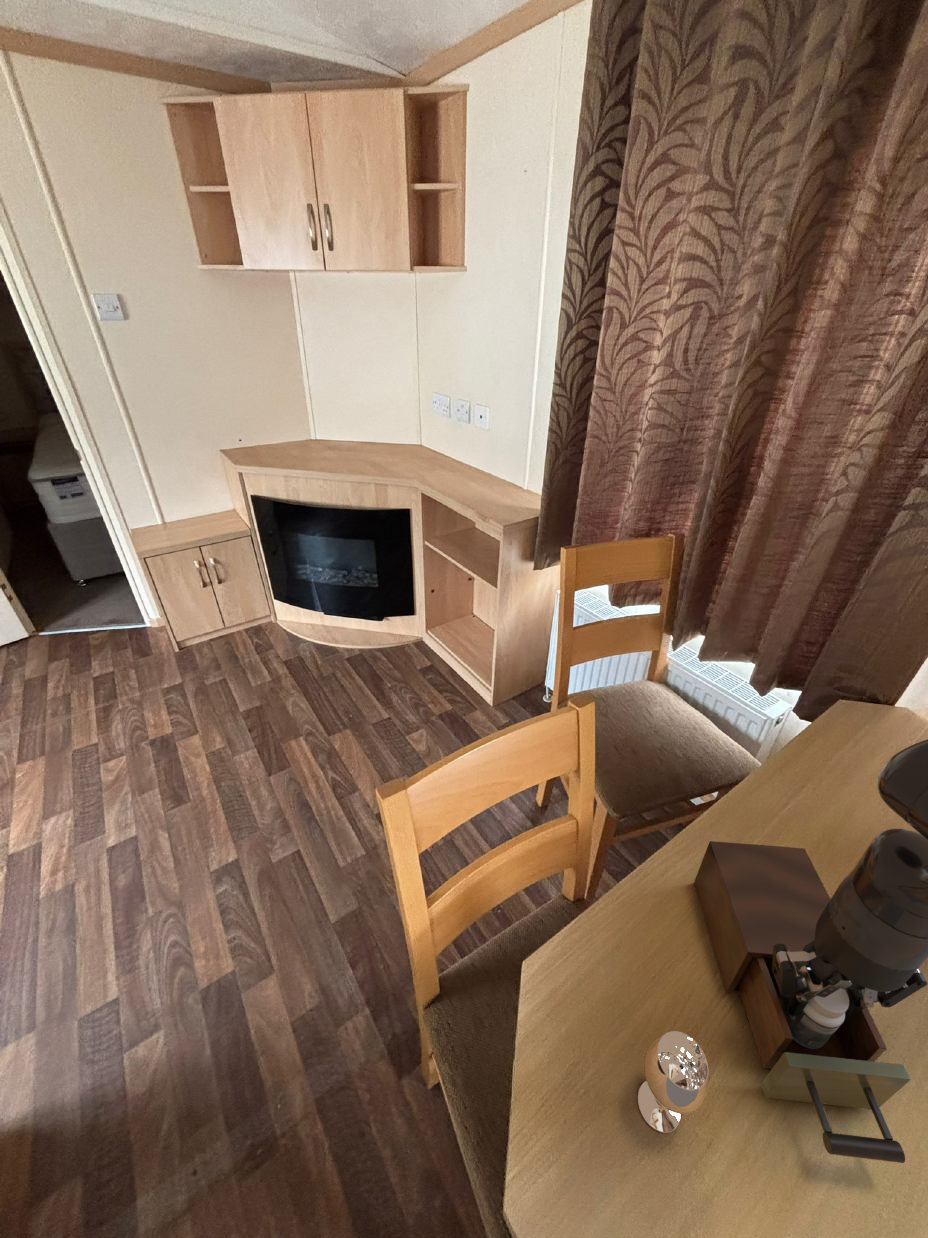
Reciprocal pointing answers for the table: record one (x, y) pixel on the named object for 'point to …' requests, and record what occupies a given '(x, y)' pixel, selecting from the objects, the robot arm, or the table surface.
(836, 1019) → the pill bottle
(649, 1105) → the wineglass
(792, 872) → the cabinet
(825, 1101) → the drawer
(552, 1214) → the table surface
